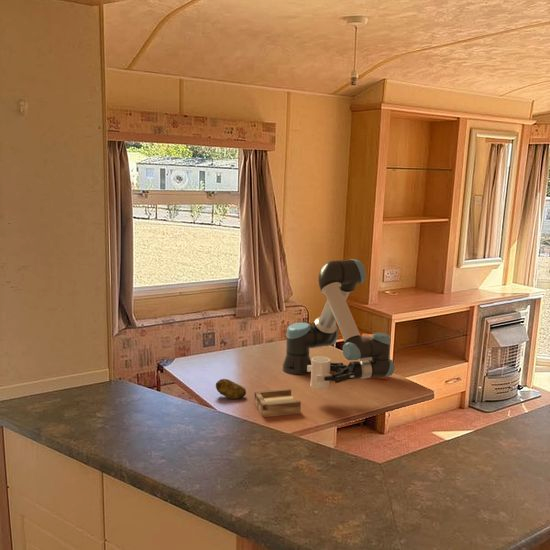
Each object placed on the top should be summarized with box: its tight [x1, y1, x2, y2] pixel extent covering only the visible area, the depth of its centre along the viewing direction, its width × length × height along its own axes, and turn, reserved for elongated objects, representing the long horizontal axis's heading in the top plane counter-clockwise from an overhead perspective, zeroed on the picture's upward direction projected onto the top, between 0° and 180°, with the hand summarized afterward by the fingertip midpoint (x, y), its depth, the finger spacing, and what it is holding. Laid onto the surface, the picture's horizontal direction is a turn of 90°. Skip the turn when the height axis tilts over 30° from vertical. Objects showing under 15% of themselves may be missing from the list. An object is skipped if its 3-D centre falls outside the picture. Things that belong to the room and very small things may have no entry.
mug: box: [309, 355, 331, 390], centre depth 242 cm, size 12×8×12 cm
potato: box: [215, 378, 247, 400], centre depth 249 cm, size 8×13×8 cm, turn 68°
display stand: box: [254, 388, 302, 418], centre depth 239 cm, size 15×16×5 cm
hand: (311, 373), depth 240 cm, fingers closed on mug, 11 cm apart
